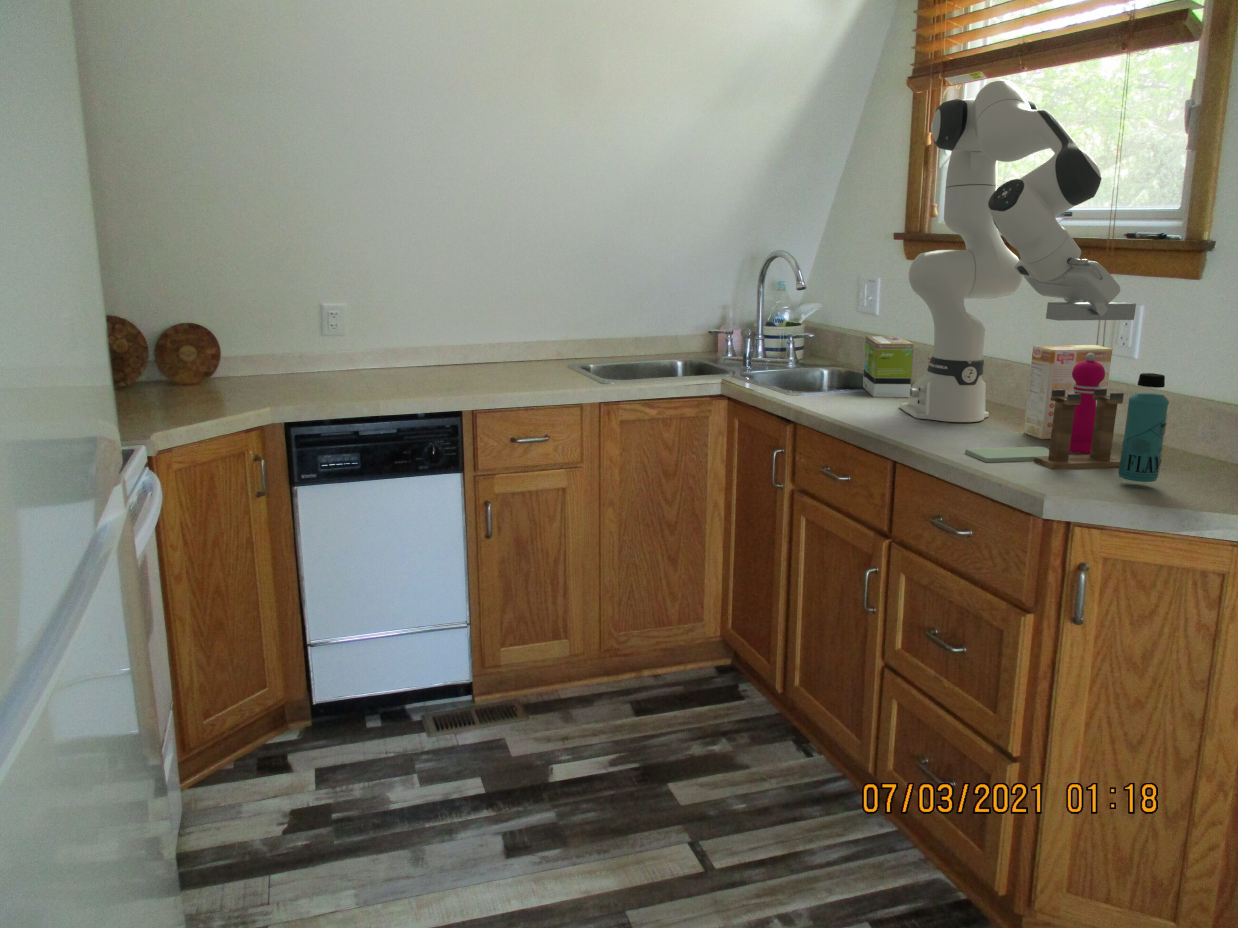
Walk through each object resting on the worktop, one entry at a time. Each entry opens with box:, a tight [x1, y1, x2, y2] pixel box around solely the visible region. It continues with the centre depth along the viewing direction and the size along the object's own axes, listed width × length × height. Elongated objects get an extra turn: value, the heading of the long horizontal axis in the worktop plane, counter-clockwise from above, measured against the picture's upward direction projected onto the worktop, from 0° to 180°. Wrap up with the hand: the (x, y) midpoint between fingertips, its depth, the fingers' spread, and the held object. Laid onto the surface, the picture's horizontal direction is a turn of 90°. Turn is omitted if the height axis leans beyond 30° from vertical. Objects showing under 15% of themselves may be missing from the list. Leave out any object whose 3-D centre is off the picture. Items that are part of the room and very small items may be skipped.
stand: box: [1033, 388, 1125, 470], centre depth 187 cm, size 6×15×14 cm, turn 101°
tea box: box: [862, 335, 914, 398], centre depth 265 cm, size 15×10×15 cm, turn 178°
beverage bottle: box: [1117, 372, 1170, 483], centre depth 171 cm, size 6×7×20 cm
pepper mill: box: [1069, 353, 1105, 455], centre depth 198 cm, size 7×7×20 cm
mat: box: [964, 446, 1050, 463], centre depth 195 cm, size 8×17×1 cm, turn 101°
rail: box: [1045, 301, 1137, 322], centre depth 182 cm, size 4×16×3 cm, turn 102°
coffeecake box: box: [1023, 344, 1113, 440], centre depth 213 cm, size 15×7×20 cm, turn 102°
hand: (1093, 311), depth 183 cm, fingers closed on rail, 3 cm apart
